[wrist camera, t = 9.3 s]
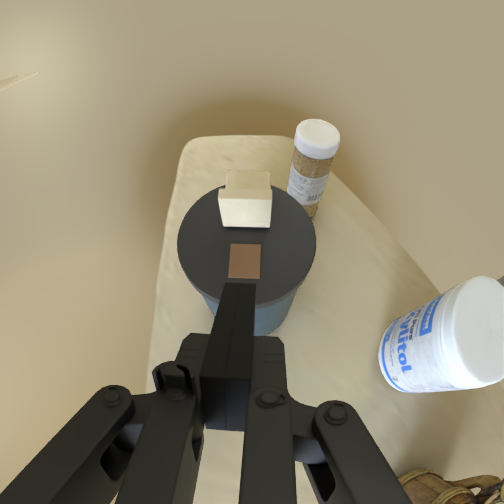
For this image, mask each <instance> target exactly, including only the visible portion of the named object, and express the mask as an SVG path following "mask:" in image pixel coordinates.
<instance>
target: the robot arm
mask: <svg viewBox="0 0 504 504" xmlns="http://www.w3.org/2000/svg"><path fill="white" fill-rule="evenodd" d="M255 301H256V283H231V282H225V284H224V287H223V291H222V294H221V298H220V301H219V305H218V309H217V312H216V316H215V319H214V323H213V327H212V330H211V334H199V333H190V334H189V335H188V336H187V337H186V338H185V339H183V341H182V344H181V347H180V350H179V352H178V354H177V357H176V359H175V361H168V362H164V363H161V364H160V365H158V366H156V367H155V369H154V370H153V371H152V375H153V379H154V383H155V387H156V391H155V392H153V393H149V394H140V395H131V393H130V391H129V390H128V389H126V388H125V387H123V386H119V385H109V386H106V387H103V388H102V389H100V390H99V391H97V392H96V393H95V394H94V395H93V397H92V398H91V399H90V400H89V401H88V402H87V403H86V404H85V405H84V406H83V407H82V408H81V409H80V410H79V411H78V412H77V413H76V414H75V415H74V416H73V417H72V418H71V419H70V420H69V421H68V423H67V424H66V425H65V426H64V427H63V428H62V429H61V430H60V431H59V432H58V433H57V434H56V435H55V436H54V437H53V438H52V440H50V442H48V444H47V445H46V446H45V447H44V448H43V449H42V450H41V451H40V452H39V453H38V454H37V455H36V456H35V457H34V458H33V459H32V461H31V462H30V463H29V464H28V465H27V466H26V467H25V468H24V469H23V470H22V471H21V472H20V473H19V475H17V477H16V478H15V479H14V480H13V481H12V482H11V483H10V484H9V485H8V486H7V487H6V489H4V491H3V492H2V493H1V494H0V504H110V503H111V501H112V500H113V498H114V497H115V496H116V494H117V493H118V495H117V499H116V501H115V504H193V498H194V493H195V487H196V482H197V476H198V471H199V465H200V460H201V454H202V449H203V444H204V435H203V429H204V424H205V425H206V429H216V430H228V431H244V444H243V456H242V468H241V480H240V492H239V504H297V496H296V476H295V461H299V462H302V463H303V466H304V468H305V471H306V473H307V476H308V478H309V481H310V483H311V486H312V488H313V491H314V493H315V495H316V498H317V500H318V503H319V504H413V503H412V501H411V500H410V498H409V496H408V495H407V493H406V491H405V490H404V488H403V487H402V485H401V483H400V482H399V480H398V478H397V477H396V475H395V474H394V472H393V470H392V469H391V467H390V465H389V464H388V462H387V461H386V459H385V457H384V456H383V454H382V452H381V451H380V449H379V448H378V446H377V444H376V443H375V441H374V439H373V438H372V436H371V435H370V433H369V431H368V430H367V428H366V426H365V425H364V423H363V422H362V420H361V418H360V417H359V415H358V414H357V412H356V410H355V409H354V408H353V407H352V406H351V405H349V404H347V403H345V402H343V401H337V400H333V401H327V402H324V403H322V404H320V405H319V406H318V407H317V408H316V407H312V406H307V405H304V404H301V403H299V402H297V401H295V400H294V399H293V398H292V397H291V396H290V394H289V393H288V389H287V378H286V365H285V352H284V344H283V343H282V341H281V340H280V339H279V337H271V336H254V330H255ZM118 491H119V492H118Z"/></svg>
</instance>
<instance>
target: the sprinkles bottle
mask: <svg viewBox="0 0 504 504" xmlns="http://www.w3.org/2000/svg"><path fill="white" fill-rule="evenodd" d="M339 142H340V134H339V132H338V130H337V129H336V128H335V127H334V126H333V125H332V124H330V123H328V122H326V121H323V120H320V119H308V120H304V121H302V122H301V123H300V124H299V125H298V126H297V128H296V133H295V139H294V143H295V149H294V155H293V159H292V163H291V169H290V175H289V181H288V187H287V193H288V194H289V195H291V196H292V197H294V198H295V199H296V200H297V201H298V202H299V203H300V204H301V205H302V206H303V208H304V209H305V210H306V212H307V213H308V215H309V217H312V216H313V215H314V214H315V213H316V211H317V208H318V203H319V200H320V198H321V196H322V193H323V190H324V187H325V184H326V181H327V178H328V175H329V172H330V166H331V163H332V160H333V156H334V155H335V154H336V152H337V149H338V146H339Z"/></svg>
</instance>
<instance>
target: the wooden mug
mask: <svg viewBox="0 0 504 504" xmlns="http://www.w3.org/2000/svg"><path fill="white" fill-rule="evenodd" d="M398 480H399V482H400V483H401V485H402V487H403V488H404V490H405V491H406V493H407V495H408V496H409V498H410V500H411V501H412V503H413V504H495V503H498V502H504V479H503V480H502V481H501V480H500V479H499V478H498V477H496V476H492V475H481V476H476V477H471V478H467V479H463V480H459V481H445V480H443V478H442V477H441V475H440V474H438V473H436V472H434V471H431V470H428V469H421V468H419V469H416V470H413V471H410V472H407V473H406V474H404V475H403V476H401V477H400V478H398ZM476 487H479V488H481V491H480V492H479V493H478V494H477V495H476V496H475V495H474V494H473V492H472V491H471V490H470V489H472V488H476Z"/></svg>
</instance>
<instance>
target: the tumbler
mask: <svg viewBox="0 0 504 504" xmlns="http://www.w3.org/2000/svg"><path fill="white" fill-rule="evenodd" d="M225 188H226V185H224V186H221V187H218V188H216V189H214V190H212V191H210V192H208V193H207V194H205V195H204V196H202V197H201V198H200V199H199V200H198V201H197V202H196V203H195V204H194V205H193V206H192V207H191V208H190V209H189V211H188V212H187V214H186V215H185V217H184V219H183V221H182V223H181V226H180V229H179V233H178V240H177V251H178V257H179V261H180V264H181V266H182V269H183V270H184V272H185V274H186V276H187V278H188V279H189V281H190V282H191V284H192V285H193V286H194V288H195V289H196V290H197V291H198V292H199V293H200V294H202V296H203V297H204V299H205V301H206V303H207V304H208V306H209V308H210V310H211V311H212V313H213V315H214V317H215V316H216V312H217V309H218V305H219V301H220V298H221V294H222V291H223V287H224V284H225V282H231V283H256V301H255V330H254V336H265V335H267V334H269V333H271V332H273V331H274V330H275V329H277V328H278V327H279V326H280V324H281V323H282V322H283V320H284V319H285V317H286V315H287V313H288V310H289V308H290V305H291V303H292V301H293V298H294V296H295V293H296V291H297V289H298V287H299V286H300V285H301V284H302V282H303V281H304V279H305V278H306V276H307V274H308V272H309V270H310V268H311V266H312V263H313V260H314V257H315V251H316V235H315V230H314V226H313V223H312V221H311V219H310V217H309V215H308V213H307V212H306V210H305V209H304V208H303V206H302V205H301V204H300V203H299V202H298V201H297V200H296V199H295V198H294V197H292V196H291V195H289V194H288V193H286V192H285V191H283V190H281V189H279V188H277V187H274V186H271V190H272V210H271V222H270V227H269V228H267V227H229V226H223V223H222V218H221V213H220V207H219V202H218V194H219V189H225Z"/></svg>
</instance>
